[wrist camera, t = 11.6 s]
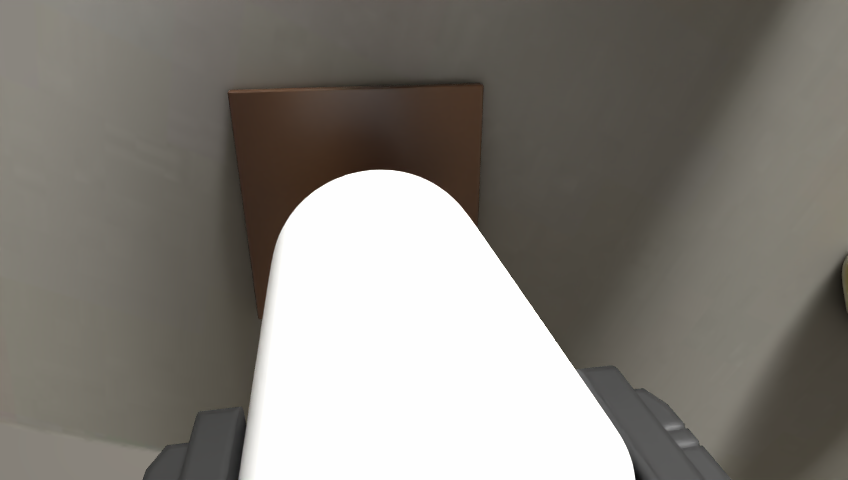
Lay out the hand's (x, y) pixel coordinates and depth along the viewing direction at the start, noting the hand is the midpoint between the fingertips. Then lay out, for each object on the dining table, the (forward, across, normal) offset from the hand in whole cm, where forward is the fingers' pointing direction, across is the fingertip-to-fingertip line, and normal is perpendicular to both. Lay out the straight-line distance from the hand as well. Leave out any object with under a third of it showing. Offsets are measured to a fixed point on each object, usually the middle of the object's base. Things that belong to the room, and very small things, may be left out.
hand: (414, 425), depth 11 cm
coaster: (+13, 0, 0) cm, 13 cm away
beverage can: (+8, 0, 0) cm, 8 cm away
